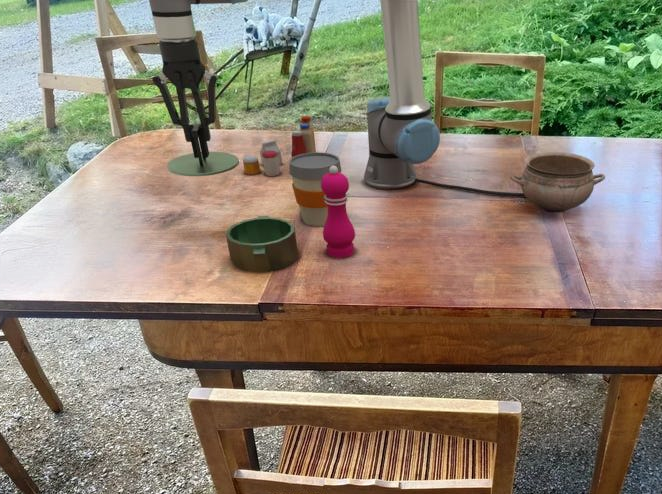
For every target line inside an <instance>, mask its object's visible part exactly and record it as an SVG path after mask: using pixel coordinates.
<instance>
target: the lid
mask: <svg viewBox="0 0 662 494" xmlns="http://www.w3.org/2000/svg"><path fill="white" fill-rule="evenodd" d="M200 124H201V122H199V123H194V124H193V125H194V126H193V128H192V130H191V134H192V138H194V140H195V144H196V149H197V154H198V158H194V153H193V152H192V153H186V154H183V155H179V156H177V157H174V158H172V159H171V160H169V161H168V162H167V164H166V169H167V170H168V172H170V173H171V174H174V175H177V176H183V177H207V176H214V175H219V174H224V173H227V172H229V171H232V170H234V169H235V168H237V167H238V166H239V164H240V161H239V160H240V159H239V157H238V156H237V155H235V154H233V153H229V152H222V151H209V156H208V158H204V153H203V148H202V144H201V139H200V133H199V129H198V127H199V125H200Z"/></svg>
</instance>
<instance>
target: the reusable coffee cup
mask: <svg viewBox="0 0 662 494" xmlns="http://www.w3.org/2000/svg"><path fill="white" fill-rule="evenodd" d="M331 166H336V167H337V168H338V172H339V173H342V166H341V162H340V157H339V156H337V155H336V154H333V153H328V152H317V151H316V152H315V153H305V154H300V155H297V156H294V157H292V156H291V158H290V159H289V160H288V169H289V171H288V173H289V176H291V179H292V183H291V187H292V191H293V194H294V198H295V202H296V204H297V205H298V206H299V211H300V215H301V219H302V222H303V223H305V224H306V225H308V226H314V227H324V225H325V222H326V219H327V215H328V207H327V204H326V203H325V198H324V196H325V195H326V194H325V193H324V192H323V191H322V189H321V180H322V178H323V177H324V176H325V175H326V174H327V173H330V170H329V169H330V167H331Z"/></svg>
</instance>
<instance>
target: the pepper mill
mask: <svg viewBox="0 0 662 494" xmlns="http://www.w3.org/2000/svg"><path fill="white" fill-rule="evenodd" d="M329 170H330V173H327V174H326V175H325V176H324V177H323V178H322V180H321V189H322V191H323V192H324V193H325V194H326V195H325V196H324V198H325V203H326V204H327V207H328V215H327V219H326V222H325V225H324V226H323V229H322V237H323V240H324V242H325V243H326V246H325V247H326V248H325V249H326V254H327V255H328V256H329V257H332V258H335V259H344V258H348V257H350V256H353V254H355V245H354V241H355V238H356V230H355V228H354V227H355V226H354V225H353V223H352V221H351V220H350V217H349V215H348V211H347V203H348V201H349V199H348V194H347V193H348V191H349V189H350V184H349V179H348V178H347V176H346V175H345V174H344V173H342V172H341V173H339V172H338V168H337V167H336V166H331V167H330V169H329Z"/></svg>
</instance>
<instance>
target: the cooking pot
mask: <svg viewBox="0 0 662 494" xmlns="http://www.w3.org/2000/svg"><path fill="white" fill-rule="evenodd" d="M525 163H526V166H525V168H524V169H523V172H522V175H515V174H511V175H510V176H509V177H510V180H511V181H513V182H514V183H516V184H518V185H519V186H520V187H521V191H522V193H524V195H525V196H526V197H525V198H526V199H527V200H528V201H529V202H530V203H532V204H533V205H535V206H537V207H538V208H540V209H541V210H543V211H544V212H547V213H551V214H552V213H553V214H558V213H559V214H561V213H563V212H566V211H569V210H572V209H575V208H577V207H579V206H581V205H582V204H585V202H587V201H588V200H589V198H590V197H591V195H592V193H593V191H594V189H595V186H596V185H597V184H599V183H601V182H603V181H604V180H605V179H606V175H605V174H604V173H598V174H594V173H593V169H594V168H595V166H596V165H595V162H593V161H592V159H590V158H588V157H586V156H583V155H580V154H575V153H570V152H561V151H545V152H537V153H533V154H531V155H528V156H527V157H526V159H525Z"/></svg>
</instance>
